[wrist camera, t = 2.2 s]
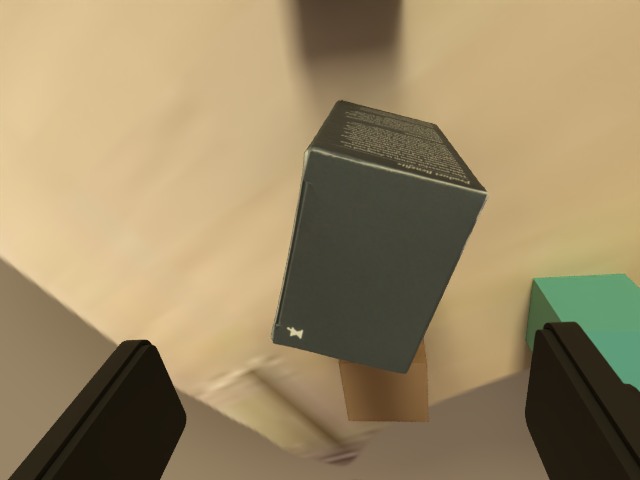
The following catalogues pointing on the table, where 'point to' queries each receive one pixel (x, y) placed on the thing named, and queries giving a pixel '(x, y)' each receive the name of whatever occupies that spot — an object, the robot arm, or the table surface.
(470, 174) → the box
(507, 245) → the table surface
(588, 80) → the table surface
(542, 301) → the teal cube
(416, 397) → the walnut cube
